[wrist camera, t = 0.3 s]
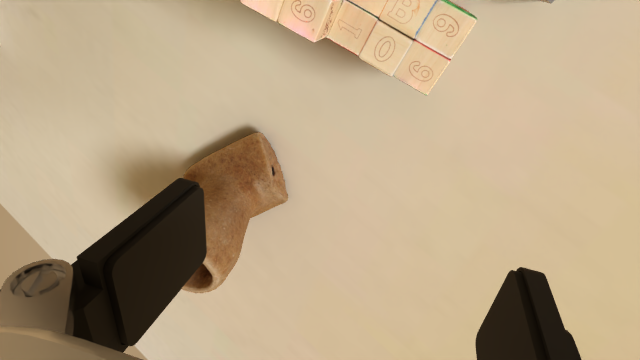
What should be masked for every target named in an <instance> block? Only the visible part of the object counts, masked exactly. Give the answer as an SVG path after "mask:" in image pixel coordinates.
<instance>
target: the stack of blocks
mask: <svg viewBox="0 0 640 360" xmlns="http://www.w3.org/2000/svg"><path fill="white" fill-rule="evenodd" d="M240 1H241V3H242V4H244V5H245V6H247V7H249V8H251V9H253V10H255V11H256V12H258V13H260V14H262V15H264V16H265V17H267V18H269V19H271V20H273V21H276V22H278V23H279V24H281V25H283V26H284V27H286V28H288V29H290V30H292V31H294V32H295V33H297V34H299V35H301V36H303V37H304V38H306V39H308V40H310V41H312V42H314V43H315V42H316V41H319V40H321V39H323V38H325V37H326V38H328V39H330V40H331V41H333V42H335V43H336V44H338V45H340V46H342V47H343V48H345V49H347V50H348V51H350V52H352V53H354V54H355V55H357V56H358V57H359V58H360V59H362V60H363V61H365V62H367V63H368V64H370V65H372V66H373V67H375V68H377V69H378V70H380V71H382V72H384V73H385V74H387V75H389V76H391V77H393V76H394V77H396V78H397V79H399V80H400V81H402V82H404V83H406V84H407V85H409V86H411V87H412V88H414V89H416V90H417V91H419V92H421V93H423V94H424V95H428V93H429V92H430V90H431V89H432V87H433V86H434V85H435V83H436V82H437V80H438V79H439V77H440V76H441V74H442V73H443V71H444V70H445V68H446V67H447V65H448V64H449V63H450V60H451V58H452V57H453V56H454V54H455V53H456V51H457V50H458V48H459V47H460V45H461V44H462V42H463V41H464V39H465V38H466V36H467V35H468V34H469V32H470V30H471V29H472V28H473V26H474V25H475V23H476V22H477V18H476V17H475V16H474V15H472V14H471V13H469V12H468V11H467V10H465V9H463V8H461V7H460V6H458V5H456V4H454V3H453V2H451V1H449V0H240Z"/></svg>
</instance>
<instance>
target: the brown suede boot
mask: <svg viewBox="0 0 640 360" xmlns="http://www.w3.org/2000/svg"><path fill="white" fill-rule="evenodd" d="M184 179H188V180H191V181H195V182H198V183H199V185H200V188H202V189H203V190H204V205H205V225H206V244H207V254H206V258H205V260H204V262H203V263H202V264H201V265H200V267H199V268H198V269H197V270H196V272H195V273H194V274H193V275H192V276H191V278H190V279H189V280H188V281H187V282H186V284H185V285H184V286H183V287H182V288H181V289H183V290H185V291H189V292H194V293H204V292H210V291H212V290H214V289H216V288H217V287H219V286H220V285H221V284H222V283H223V282H224V280H225V279H226V277H227V276H228V274H229V273H230V271H231V270H232V269H233V267H234V266H235V264H236V262H237V260H238V258H239V255H240V252H241V248H242V243H243V239H244V235H245V232H246V229H247V226H248V223H249V220H250V218H252V217H254V216H256V215H259V214H261V213H263V212H265V211H267V210H269V209H271V208H273V207H275V206H278V205H280V204H283V203H285V202H286V201H287V200H288V194H287V192H286V188H285V180H284V179H283V174H282V171H281V167H280V165H279V163H278V162H277V157H276V155H275V152H274V150H273V149H272V147H271V146H270V143H269V142H268V140H267V139H266V138H265V136H264V135H263V134H262V133H260V132H256V133H254V134H251V135H249V136H246V137H244V138H242V139H240V140H237V141H235V142H233V143H231V144H229V145H228V146H226V147H224V148H222V149H220V150H218V151H216V152H214V153H212V154H210V155H209V156H207V157H205V158H203V159H202V160H200V161H199V162H197V163H195V164H194V165H192V166H191V167H190V168H189V169H188V170H187V171H186V173H185V174H184Z"/></svg>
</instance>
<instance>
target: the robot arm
mask: <svg viewBox="0 0 640 360" xmlns="http://www.w3.org/2000/svg"><path fill="white" fill-rule="evenodd" d="M206 254H207V244H206V225H205V205H204V190H203V189H202V188H200V185H199V183H198V182H195V181H191V180H188V179H184V178H179V179H177V180H176V181H174V182H173V183H172V184H170V185H169V186H168V187H167V188H165V189H164V190H163V191H161V192H160V193H159V194H158V195H156V196H155V197H154V198H152V199H151V200H150V201H148V202H147V203H146V204H145V205H143V206H142V207H141V208H139V209H138V210H137V211H135V212H134V213H133V214H132V215H130V216H129V217H128V218H126V219H125V220H124V221H123V222H121V223H120V224H119V225H117V226H116V227H115V228H113V229H112V230H111V231H110V232H108V233H107V234H106V235H104V236H103V237H102V238H100V239H99V240H98V241H97V242H95V243H94V244H93V245H91V246H90V247H89V248H88V249H86V250H85V251H84V252H82V253H81V254H80V255H78V256H77V261H76V262H74V263H73V264H72V265H70V264H69V263H68V262H66V261H63V260H58V259H47V260H41V261H37V262H33V263H30V264H28V265H26V266H23V267H22V268H20V269H18V270H17V271H15V272H13V273H12V275H10V276H9V277H8V278H7V279H6V281H5V282H4V284H3V286H2V289H1V290H0V360H142V359H139V358H136V357H133V356H131V355H128V354H125V353H123V352H124V351H125V349H126V348H127V347H128V346H133V345H135V344H136V343H137V342H138V341H139V339H140V338H141V337H142V336H143V335H144V333H145V332H146V331H147V330H148V328H149V327H150V326H151V325H152V324H153V322H154V321H155V320H156V319H157V318H158V316H159V315H160V314H161V313H162V312H163V310H164V309H165V308H166V307H167V305H168V304H169V303H170V302H171V301H172V299H173V298H174V297H175V296H176V295H177V293H178V292H179V291H180V290H181V288H182V287H183V286H184V285H185V284H186V282H187V281H188V280H189V279H190V278H191V276H192V275H193V274H194V273H195V272H196V270H197V269H198V268H199V267H200V265H201V264H202V263H203V262H204V260H205V258H206ZM476 354H477V360H581V357H580V354H579V352H578V349H577V347H576V344H575V341H574V339H573V337H572V335H571V334H570V333H569V332H568V331H567V330H565V328H564V325H563V323H562V320H561V317H560V314H559V312H558V309H557V306H556V303H555V301H554V298H553V295H552V292H551V290H550V287H549V284H548V281H547V279H546V276H545V274H543V273H541V272H538V271H534V270H530V269H526V268H522V267H520V268H518V269H517V271H513V270H511V271H510V272H509V273H508V275H507V277H506V279H505V281H504V283H503V285H502V287H501V288H500V290H499V292H498V294H497V296H496V298H495V300H494V302H493V304H492V306H491V308H490V310H489V312H488V314H487V316H486V317H485V319H484V321H483V323H482V325H481V327H480V329H479V331H478V333H477V337H476Z"/></svg>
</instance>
